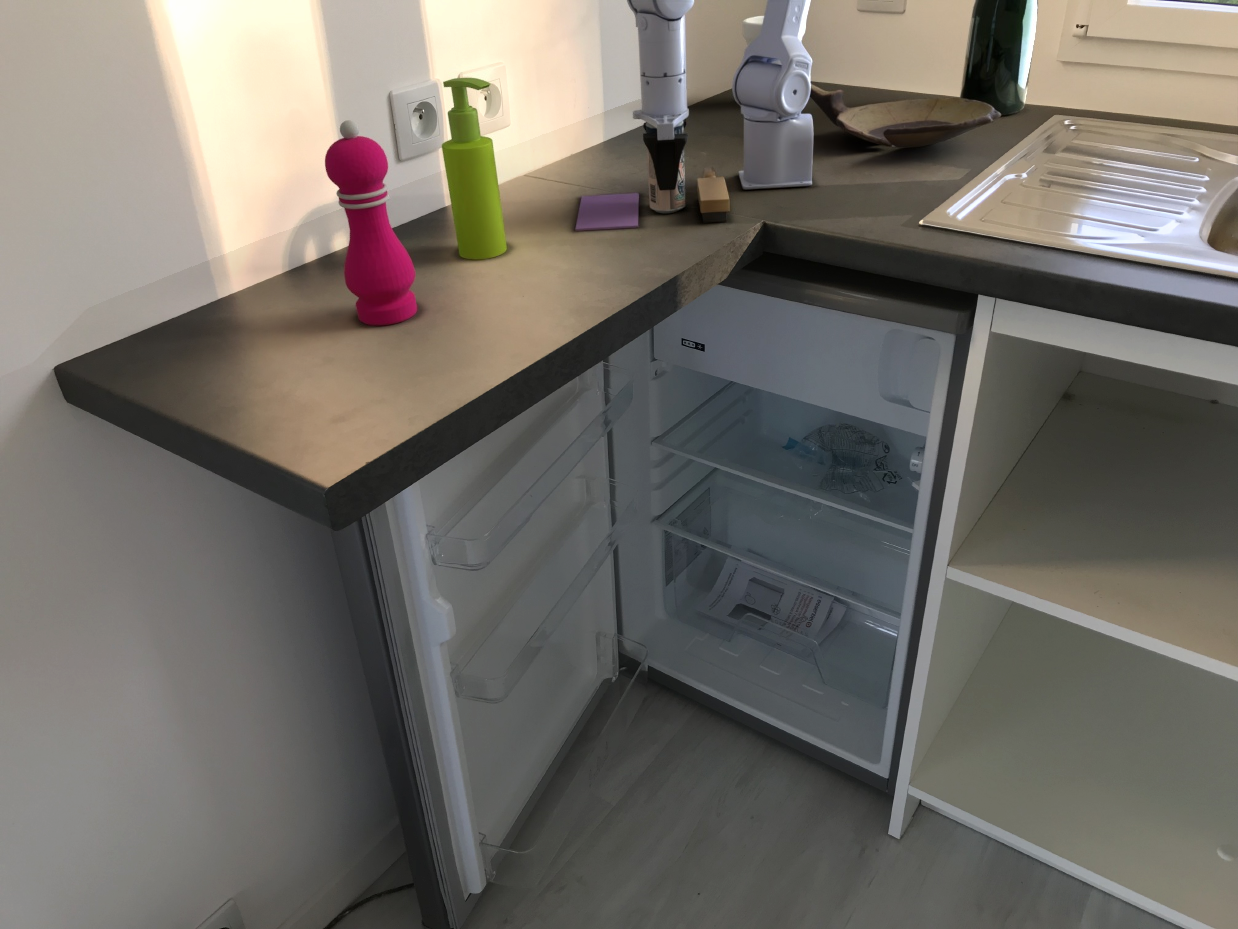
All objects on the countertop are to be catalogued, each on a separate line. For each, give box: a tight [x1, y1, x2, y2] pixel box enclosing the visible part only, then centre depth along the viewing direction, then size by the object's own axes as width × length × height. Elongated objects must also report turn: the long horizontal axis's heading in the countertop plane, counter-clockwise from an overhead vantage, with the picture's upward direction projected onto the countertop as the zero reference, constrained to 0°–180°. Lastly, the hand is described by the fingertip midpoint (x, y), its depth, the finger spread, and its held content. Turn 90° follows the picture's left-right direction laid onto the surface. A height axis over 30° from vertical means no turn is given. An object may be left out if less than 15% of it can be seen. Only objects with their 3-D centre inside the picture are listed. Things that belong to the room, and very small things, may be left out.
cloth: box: [575, 192, 640, 232], centre depth 125 cm, size 8×14×1 cm, turn 178°
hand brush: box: [696, 165, 730, 224], centre depth 125 cm, size 4×16×3 cm, turn 178°
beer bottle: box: [959, 0, 1039, 116], centre depth 150 cm, size 10×10×33 cm
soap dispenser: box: [441, 77, 508, 261], centre depth 110 cm, size 6×7×20 cm
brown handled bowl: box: [809, 83, 1002, 148], centre depth 144 cm, size 22×30×8 cm
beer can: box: [645, 121, 686, 214], centre depth 122 cm, size 5×5×12 cm
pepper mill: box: [324, 119, 418, 326], centre depth 95 cm, size 7×7×20 cm
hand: (667, 183), depth 123 cm, fingers closed on beer can, 5 cm apart
